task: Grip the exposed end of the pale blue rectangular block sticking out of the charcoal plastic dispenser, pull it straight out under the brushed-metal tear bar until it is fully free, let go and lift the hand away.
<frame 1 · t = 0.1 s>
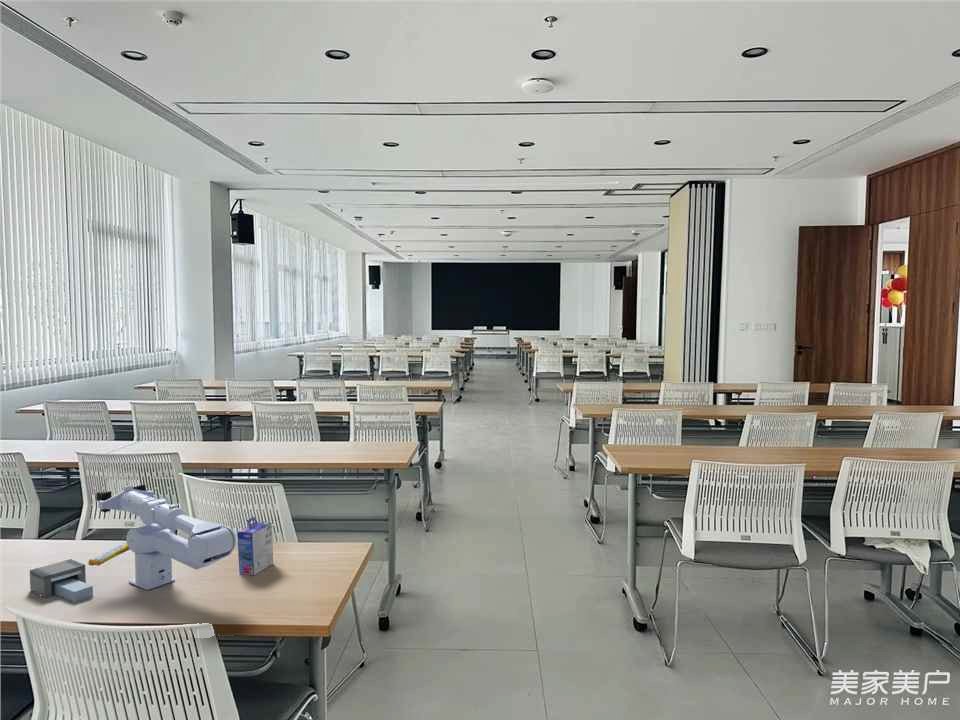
hand: (111, 493, 187), 22 cm above the table, tool horizontal, fingers open, 7 cm apart
candy bar: (112, 557, 198), on the table
pale blue rectangular block: (68, 594, 170), on the table
ink cartridge box: (256, 569, 187), on the table
dispenser: (58, 587, 173), on the table
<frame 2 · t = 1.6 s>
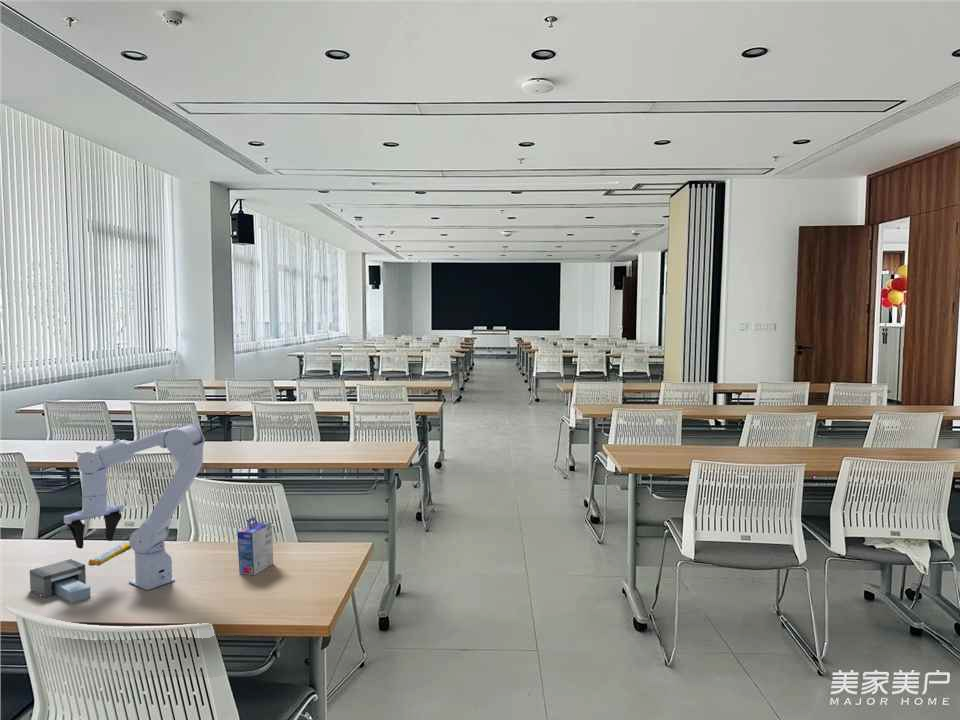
hand: (94, 543, 177), 10 cm above the table, tool pointing down, fingers open, 7 cm apart
nothing on the table moved.
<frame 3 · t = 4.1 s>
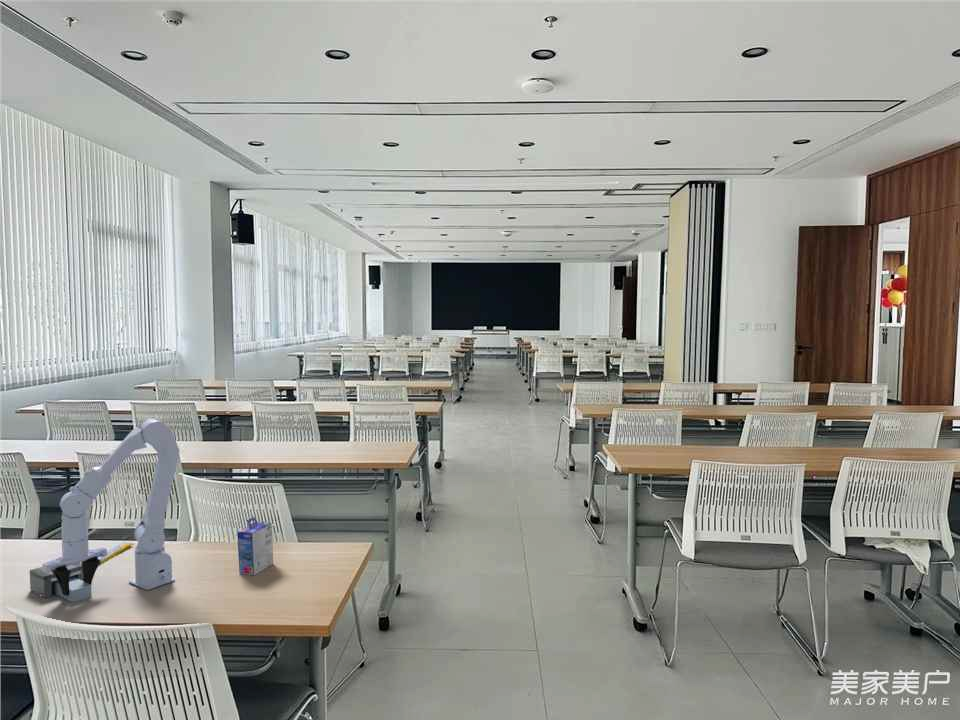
hand: (76, 591, 167), 1 cm above the table, tool pointing down, fingers closed on pale blue rectangular block, 5 cm apart
pale blue rectangular block: (69, 592, 170), on the table, touching gripper
everything else where it was.
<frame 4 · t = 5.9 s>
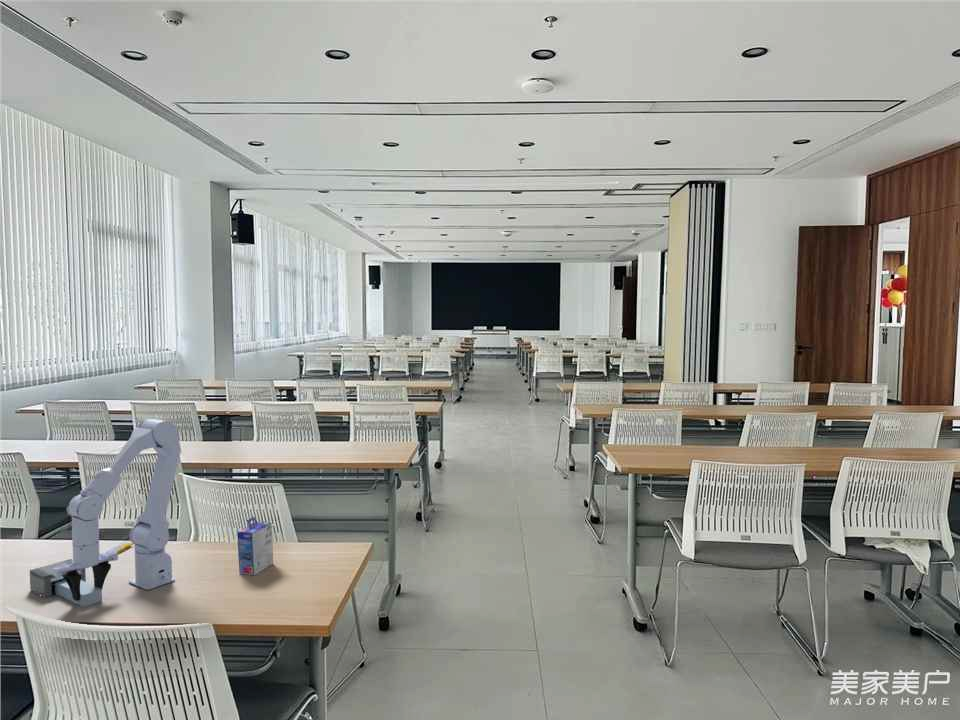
hand: (87, 596, 164), 1 cm above the table, tool pointing down, fingers closed on pale blue rectangular block, 4 cm apart
pale blue rectangular block: (78, 597, 167), on the table, touching gripper
everything else where it was.
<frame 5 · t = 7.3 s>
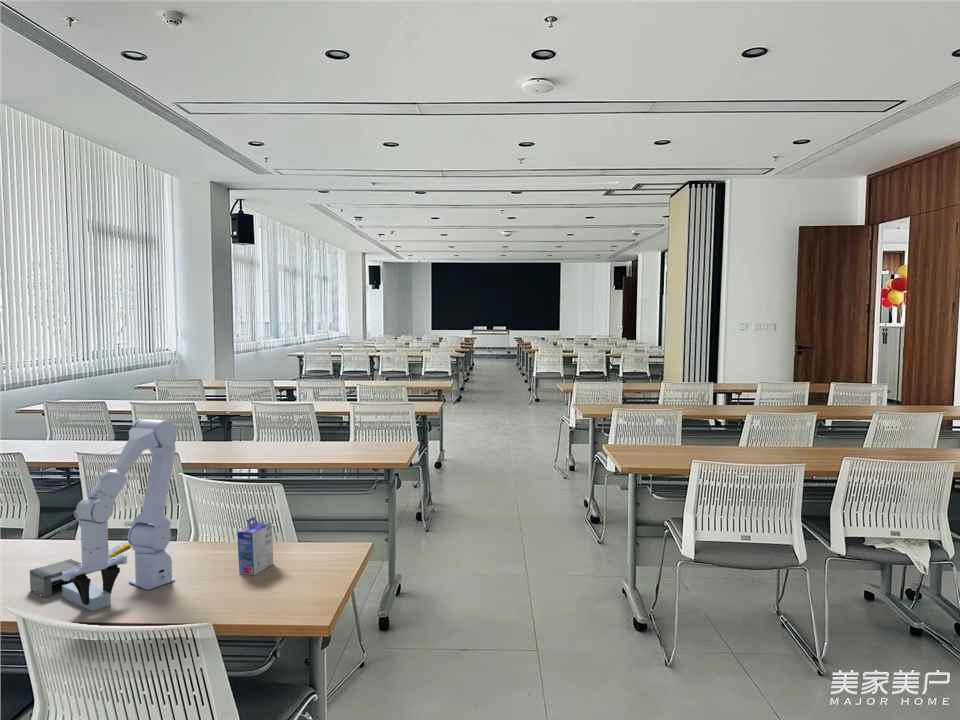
hand: (96, 600, 161), 1 cm above the table, tool pointing down, fingers closed on pale blue rectangular block, 4 cm apart
pale blue rectangular block: (86, 600, 164), on the table, touching gripper
everything else where it was.
when the fingers open (1 cm above the table, at t = 8.2 s): pale blue rectangular block stays where it is, on the table.
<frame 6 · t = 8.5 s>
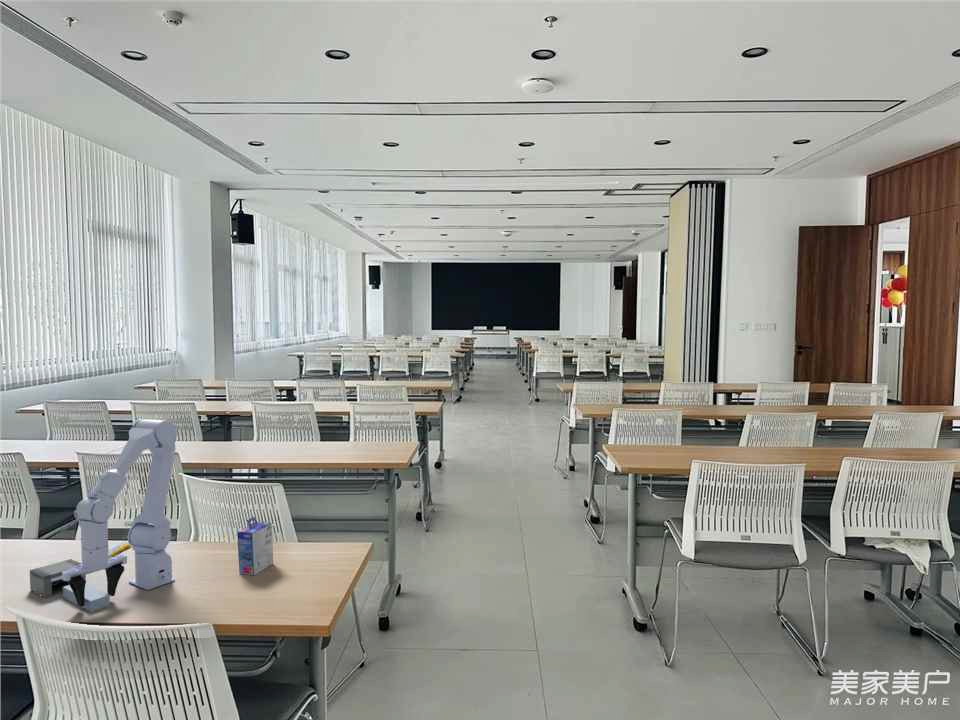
hand: (96, 600, 161), 1 cm above the table, tool pointing down, fingers open, 7 cm apart
pale blue rectangular block: (86, 602, 164), on the table
everything else where it was.
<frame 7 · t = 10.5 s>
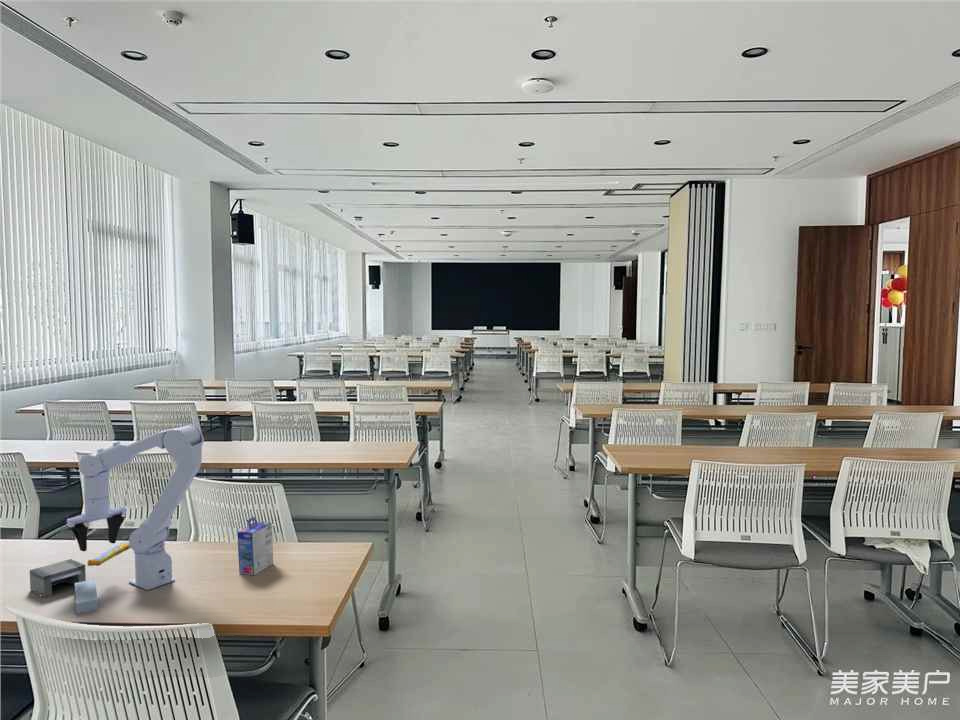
hand: (98, 546, 177), 9 cm above the table, tool pointing down, fingers open, 7 cm apart
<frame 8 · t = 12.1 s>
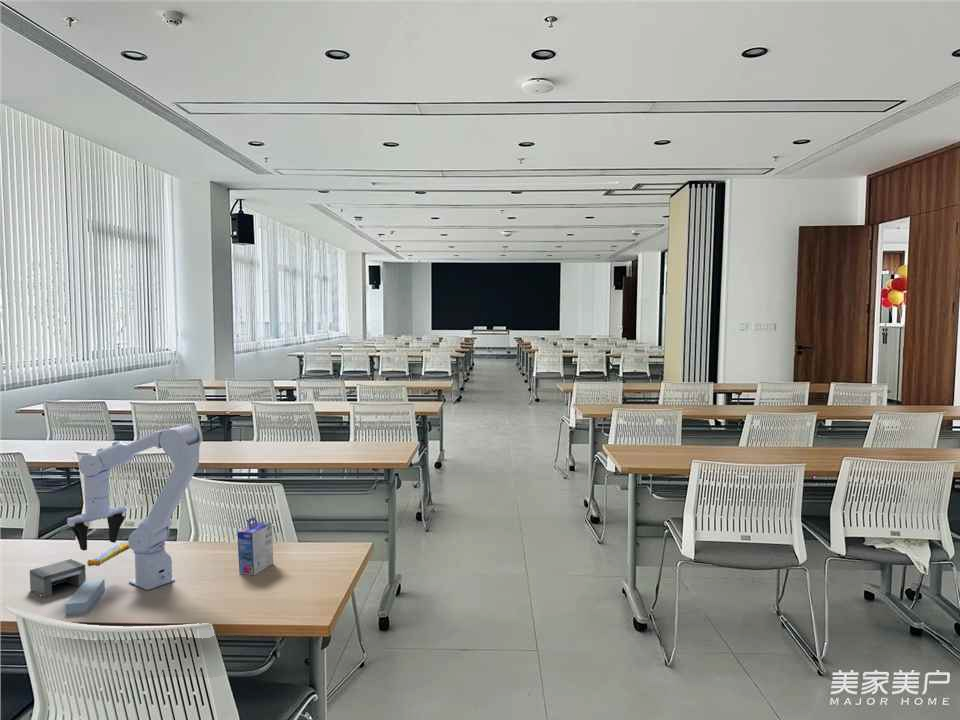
hand: (98, 545, 178), 9 cm above the table, tool pointing down, fingers open, 7 cm apart
at the end: pale blue rectangular block 0.9 cm from the target spot, on the table; pale blue rectangular block touching table; the gripper is holding nothing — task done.
